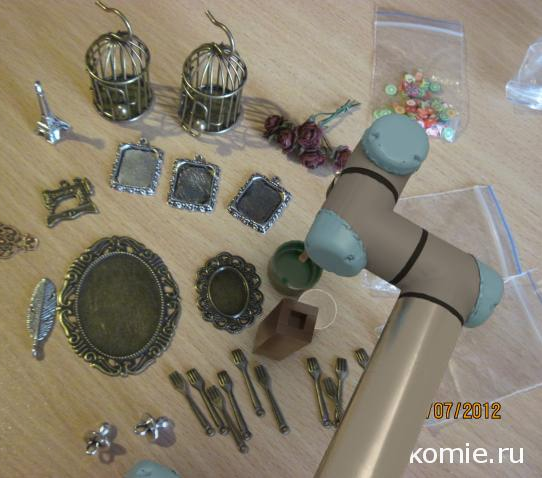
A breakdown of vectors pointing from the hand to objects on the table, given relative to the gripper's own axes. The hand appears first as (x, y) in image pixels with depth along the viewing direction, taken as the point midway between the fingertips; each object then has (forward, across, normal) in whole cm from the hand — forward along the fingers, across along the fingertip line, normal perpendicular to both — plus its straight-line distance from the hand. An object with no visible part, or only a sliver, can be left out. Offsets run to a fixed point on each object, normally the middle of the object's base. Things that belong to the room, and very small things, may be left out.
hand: (316, 242), depth 100 cm
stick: (0, 0, 0) cm, 0 cm away
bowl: (+20, 0, 0) cm, 20 cm away
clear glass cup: (+21, +9, +5) cm, 23 cm away
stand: (+20, +16, -1) cm, 26 cm away
